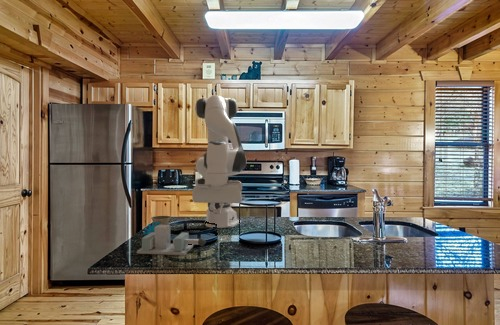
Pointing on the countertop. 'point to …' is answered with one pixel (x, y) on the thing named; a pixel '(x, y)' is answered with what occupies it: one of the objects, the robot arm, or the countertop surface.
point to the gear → (151, 228)
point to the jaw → (186, 241)
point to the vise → (149, 248)
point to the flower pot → (161, 220)
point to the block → (162, 236)
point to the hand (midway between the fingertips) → (217, 213)
